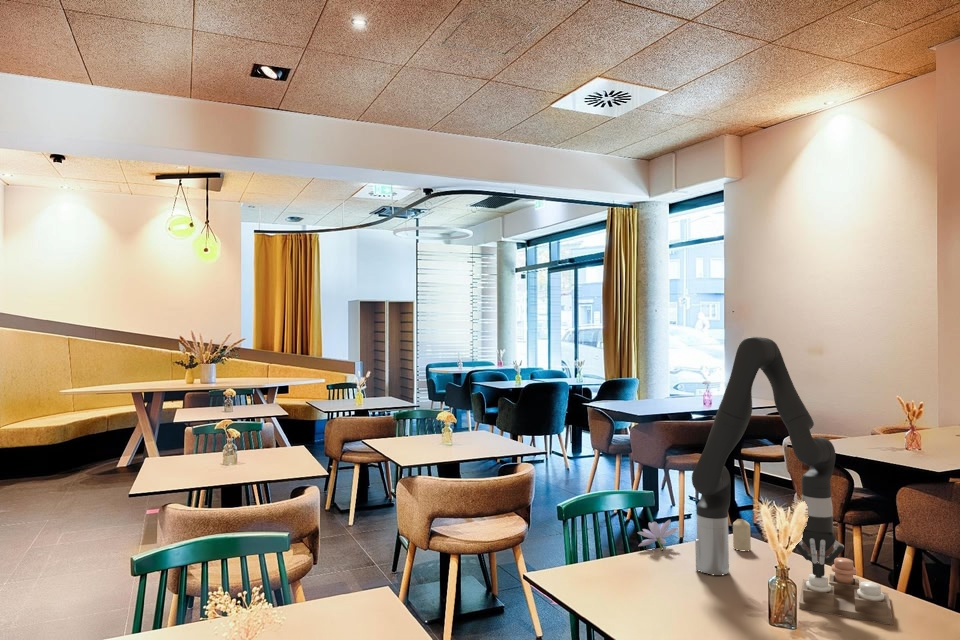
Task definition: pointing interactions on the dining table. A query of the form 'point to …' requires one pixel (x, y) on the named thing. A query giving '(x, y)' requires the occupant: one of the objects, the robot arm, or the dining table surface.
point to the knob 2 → (870, 591)
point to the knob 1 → (818, 584)
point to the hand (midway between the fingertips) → (818, 576)
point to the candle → (741, 535)
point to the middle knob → (843, 570)
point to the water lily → (656, 533)
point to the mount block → (846, 602)
